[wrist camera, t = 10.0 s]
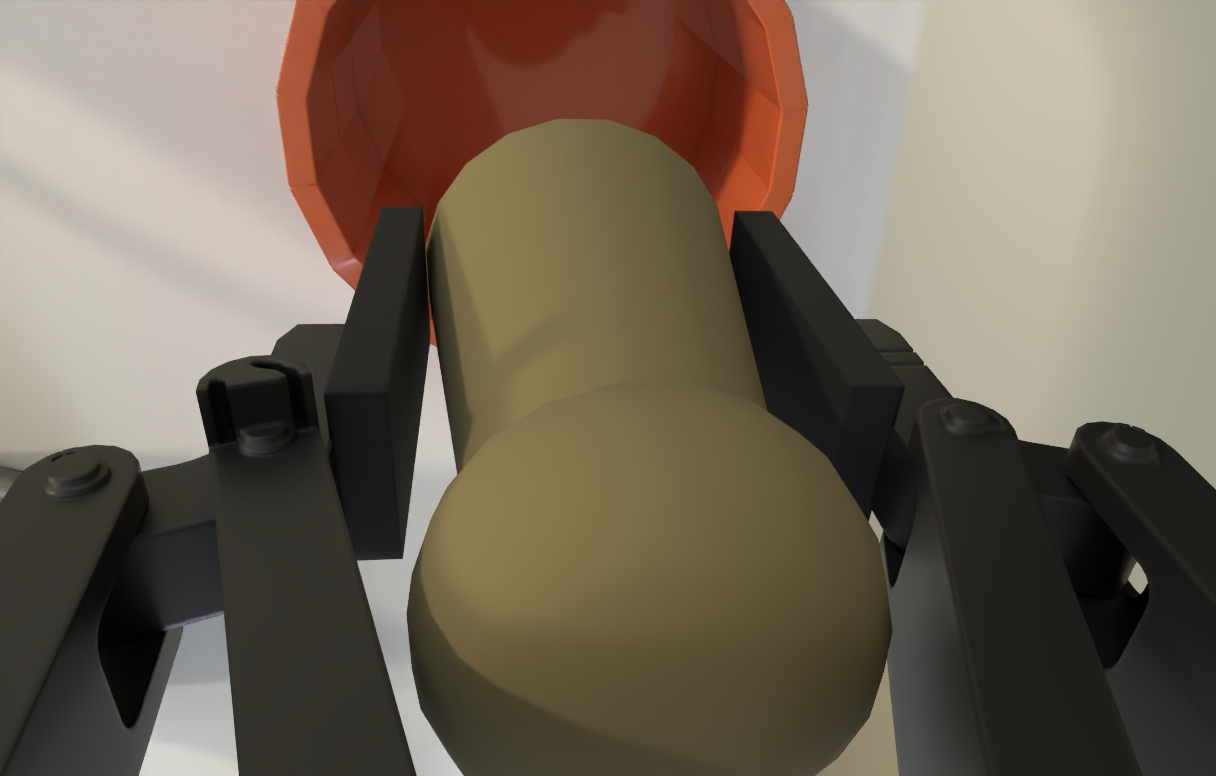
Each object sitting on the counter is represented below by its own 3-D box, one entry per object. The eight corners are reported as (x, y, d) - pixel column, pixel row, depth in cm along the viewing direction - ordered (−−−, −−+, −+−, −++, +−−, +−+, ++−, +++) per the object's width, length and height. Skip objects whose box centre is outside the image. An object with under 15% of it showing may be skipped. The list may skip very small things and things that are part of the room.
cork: (763, 147, 17) (1108, 532, 7) (684, 412, 20) (858, 921, 10) (442, 89, 15) (366, 459, 6) (410, 379, 18) (327, 924, 9)
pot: (353, 261, 35) (315, 376, 27) (306, -176, 27) (234, -184, 20) (708, 262, 37) (764, 370, 29) (757, -148, 29) (851, -146, 22)
